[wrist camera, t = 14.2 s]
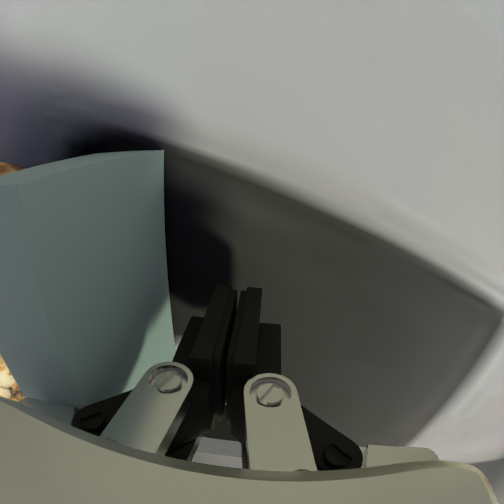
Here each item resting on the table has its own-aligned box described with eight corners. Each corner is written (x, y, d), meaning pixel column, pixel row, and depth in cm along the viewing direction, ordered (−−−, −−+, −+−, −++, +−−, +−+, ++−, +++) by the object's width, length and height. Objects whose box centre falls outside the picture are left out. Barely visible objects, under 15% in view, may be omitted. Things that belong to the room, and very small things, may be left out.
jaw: (131, 375, 15) (84, 472, 8) (97, 153, 10) (-48, 192, 3) (180, 385, 14) (144, 494, 8) (163, 149, 10) (18, 184, 3)
